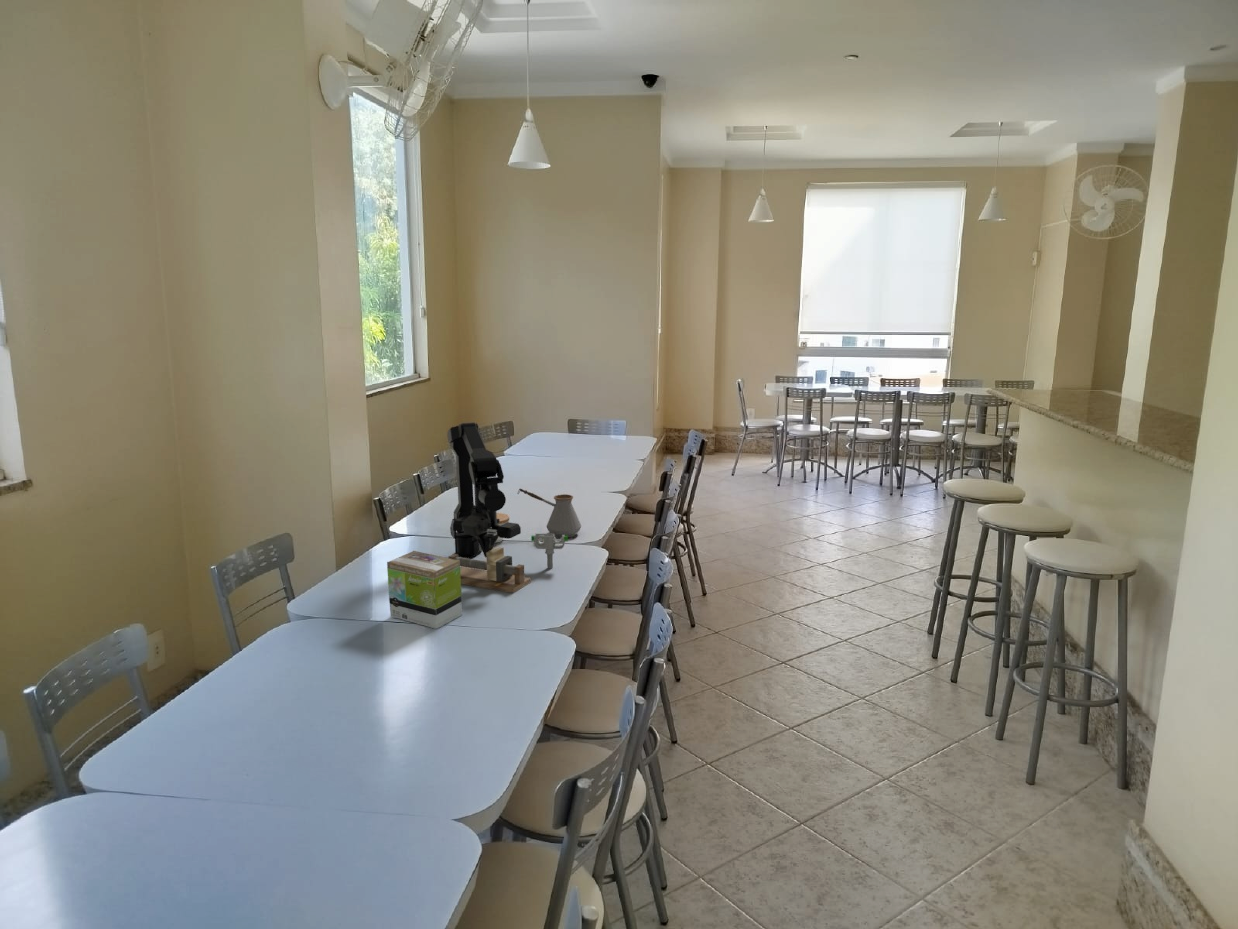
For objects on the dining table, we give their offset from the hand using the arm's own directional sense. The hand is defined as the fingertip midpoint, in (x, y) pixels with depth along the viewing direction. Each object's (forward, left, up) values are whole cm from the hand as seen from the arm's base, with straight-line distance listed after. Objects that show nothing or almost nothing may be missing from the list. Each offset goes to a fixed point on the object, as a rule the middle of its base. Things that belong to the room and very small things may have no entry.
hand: (487, 557), depth 217 cm
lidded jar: (-20, +33, -7) cm, 39 cm away
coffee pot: (-7, +47, -7) cm, 48 cm away
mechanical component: (+10, +17, -7) cm, 21 cm away
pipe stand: (-1, 0, -7) cm, 7 cm away
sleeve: (+3, 0, -5) cm, 6 cm away
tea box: (0, -27, -7) cm, 28 cm away
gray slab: (+5, 0, -5) cm, 8 cm away
